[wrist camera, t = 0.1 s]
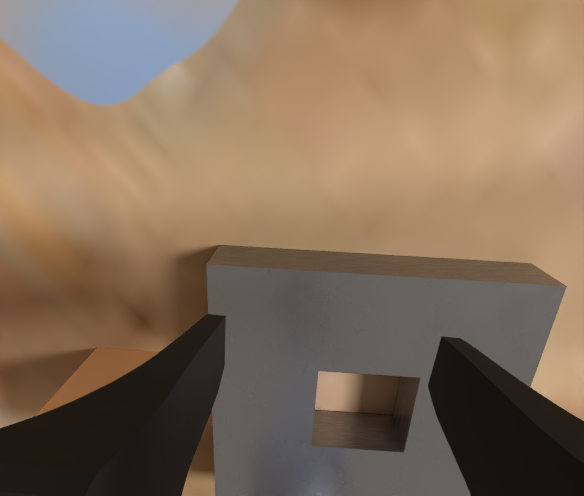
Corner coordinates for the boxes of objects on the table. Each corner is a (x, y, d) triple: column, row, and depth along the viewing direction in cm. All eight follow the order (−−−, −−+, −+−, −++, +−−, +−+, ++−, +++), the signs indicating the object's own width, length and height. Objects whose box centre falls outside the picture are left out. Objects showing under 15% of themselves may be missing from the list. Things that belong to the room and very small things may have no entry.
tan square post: (164, 401, 26) (106, 517, 18) (105, 397, 26) (23, 511, 18) (159, 352, 24) (93, 456, 17) (96, 347, 24) (3, 450, 17)
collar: (462, 483, 28) (480, 524, 25) (224, 466, 28) (215, 505, 25) (531, 263, 21) (566, 286, 18) (219, 245, 21) (206, 264, 18)
